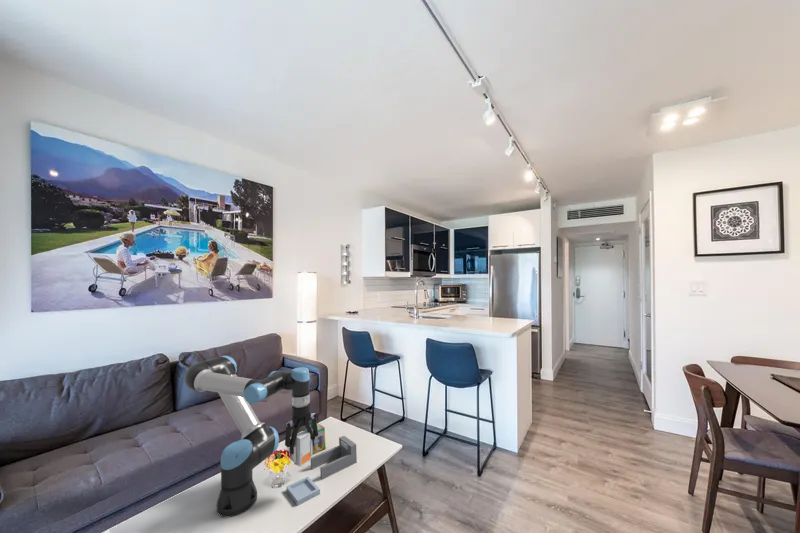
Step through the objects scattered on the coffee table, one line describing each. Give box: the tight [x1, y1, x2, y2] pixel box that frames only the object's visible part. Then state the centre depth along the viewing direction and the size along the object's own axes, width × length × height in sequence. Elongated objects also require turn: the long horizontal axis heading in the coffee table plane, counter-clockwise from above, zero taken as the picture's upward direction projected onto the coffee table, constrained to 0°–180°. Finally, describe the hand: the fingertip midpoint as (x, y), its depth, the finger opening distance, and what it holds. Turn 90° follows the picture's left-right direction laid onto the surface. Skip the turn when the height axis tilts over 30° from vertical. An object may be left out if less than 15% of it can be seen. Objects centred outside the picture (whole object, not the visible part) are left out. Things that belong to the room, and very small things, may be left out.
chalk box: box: [302, 420, 327, 455], centre depth 170 cm, size 9×9×15 cm
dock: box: [310, 435, 358, 480], centre depth 154 cm, size 19×12×9 cm, turn 131°
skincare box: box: [293, 430, 312, 467], centre depth 136 cm, size 6×4×12 cm
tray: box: [286, 476, 321, 506], centre depth 136 cm, size 10×12×2 cm
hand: (302, 457), depth 136 cm, fingers closed on skincare box, 7 cm apart
